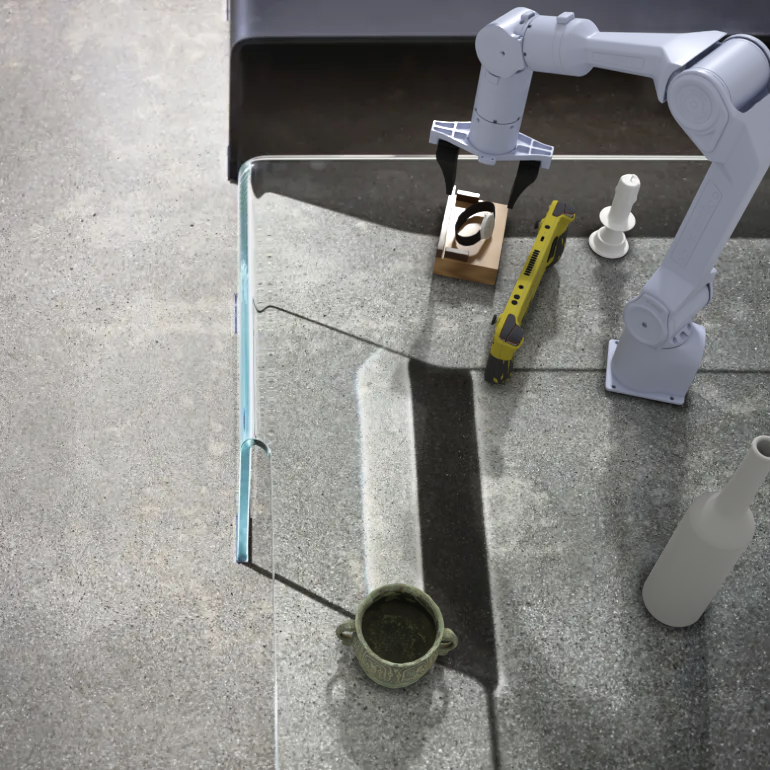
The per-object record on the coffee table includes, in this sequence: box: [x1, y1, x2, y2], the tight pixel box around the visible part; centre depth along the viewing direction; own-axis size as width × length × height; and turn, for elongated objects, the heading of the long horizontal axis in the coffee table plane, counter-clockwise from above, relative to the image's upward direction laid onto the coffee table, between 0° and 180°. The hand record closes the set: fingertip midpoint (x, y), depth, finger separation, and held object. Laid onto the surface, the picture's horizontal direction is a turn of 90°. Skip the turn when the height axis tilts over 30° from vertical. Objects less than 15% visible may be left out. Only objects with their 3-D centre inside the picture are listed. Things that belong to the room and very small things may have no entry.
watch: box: [455, 200, 495, 246], centre depth 147 cm, size 8×5×4 cm, turn 151°
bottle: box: [641, 434, 770, 628], centre depth 111 cm, size 7×7×28 cm
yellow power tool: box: [483, 199, 577, 386], centre depth 140 cm, size 26×4×10 cm, turn 159°
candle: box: [588, 173, 641, 259], centre depth 149 cm, size 5×5×12 cm
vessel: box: [334, 582, 459, 689], centre depth 113 cm, size 12×9×6 cm
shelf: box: [432, 185, 509, 286], centre depth 149 cm, size 8×12×4 cm, turn 170°
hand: (480, 196), depth 143 cm, fingers open, 7 cm apart
